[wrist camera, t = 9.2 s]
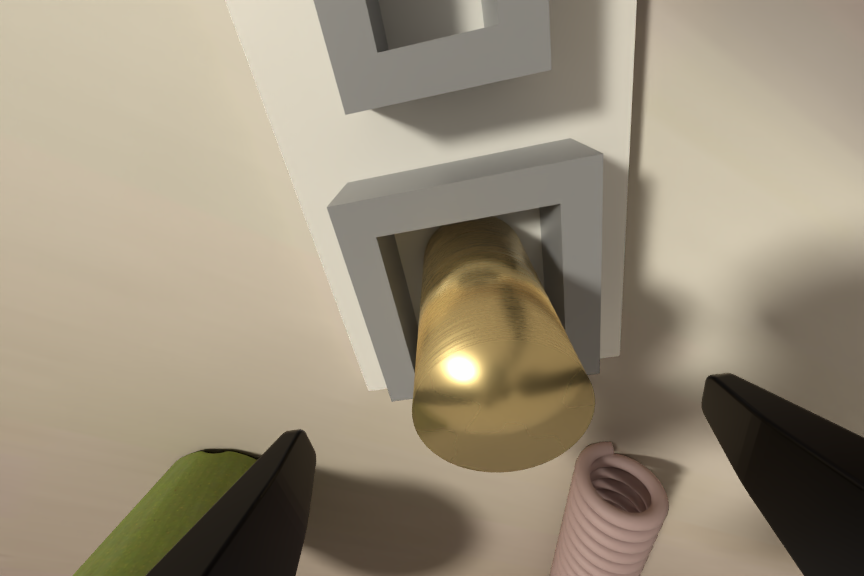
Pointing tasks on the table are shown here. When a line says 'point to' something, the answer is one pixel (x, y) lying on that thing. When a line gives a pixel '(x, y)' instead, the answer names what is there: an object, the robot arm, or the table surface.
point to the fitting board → (452, 149)
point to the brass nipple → (493, 355)
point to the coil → (609, 516)
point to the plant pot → (166, 513)
